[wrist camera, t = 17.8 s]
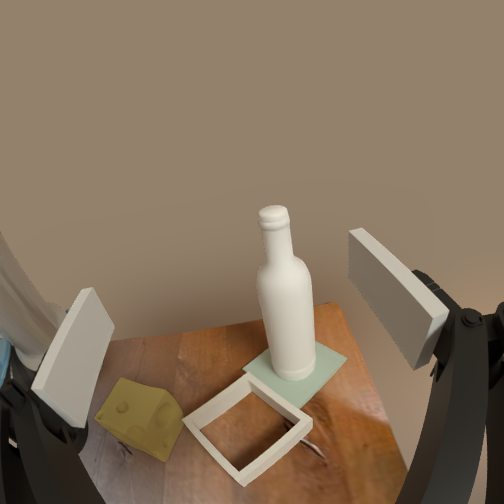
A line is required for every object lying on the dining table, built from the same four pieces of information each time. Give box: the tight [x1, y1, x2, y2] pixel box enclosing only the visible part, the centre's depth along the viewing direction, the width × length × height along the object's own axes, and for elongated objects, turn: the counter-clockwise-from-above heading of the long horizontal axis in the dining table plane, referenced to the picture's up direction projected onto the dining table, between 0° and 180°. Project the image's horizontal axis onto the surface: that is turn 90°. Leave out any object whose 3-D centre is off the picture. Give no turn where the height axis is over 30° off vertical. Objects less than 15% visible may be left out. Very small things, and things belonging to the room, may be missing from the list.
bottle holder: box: [182, 372, 313, 487], centre depth 36 cm, size 14×14×4 cm
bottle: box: [256, 205, 316, 381], centre depth 40 cm, size 8×8×30 cm
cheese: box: [94, 377, 185, 463], centre depth 35 cm, size 10×11×10 cm
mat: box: [242, 341, 347, 409], centre depth 47 cm, size 14×14×1 cm
